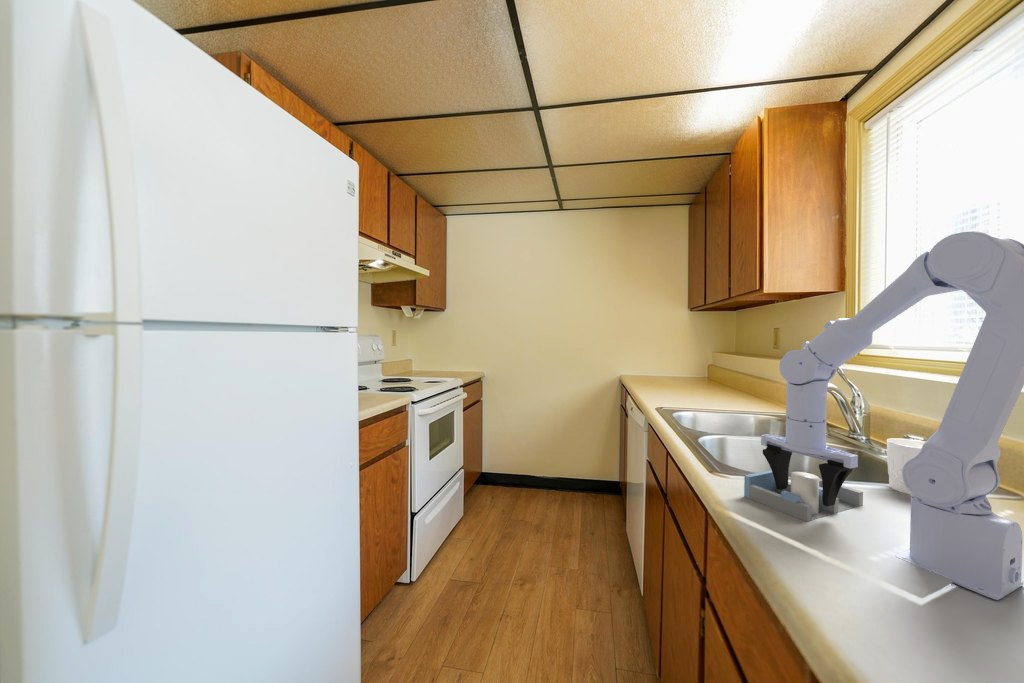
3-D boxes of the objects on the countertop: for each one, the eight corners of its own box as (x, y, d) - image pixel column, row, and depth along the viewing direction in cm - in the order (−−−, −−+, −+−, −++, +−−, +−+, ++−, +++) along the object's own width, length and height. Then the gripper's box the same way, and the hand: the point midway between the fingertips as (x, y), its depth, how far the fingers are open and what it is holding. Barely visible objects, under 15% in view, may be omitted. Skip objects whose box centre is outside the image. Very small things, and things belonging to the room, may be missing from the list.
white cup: (954, 501, 75) (956, 449, 75) (912, 501, 75) (913, 448, 75) (913, 485, 83) (914, 438, 82) (874, 485, 83) (875, 437, 83)
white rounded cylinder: (823, 512, 68) (824, 477, 68) (809, 516, 67) (810, 481, 67) (799, 503, 72) (799, 470, 72) (785, 506, 71) (785, 473, 70)
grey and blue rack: (862, 508, 72) (863, 482, 72) (806, 525, 65) (807, 497, 65) (798, 486, 82) (798, 464, 82) (744, 499, 75) (744, 475, 75)
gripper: (869, 426, 64) (867, 509, 64) (778, 410, 77) (777, 479, 78) (844, 430, 61) (842, 516, 62) (754, 412, 75) (752, 484, 75)
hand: (804, 496), depth 69 cm, fingers open, 7 cm apart
